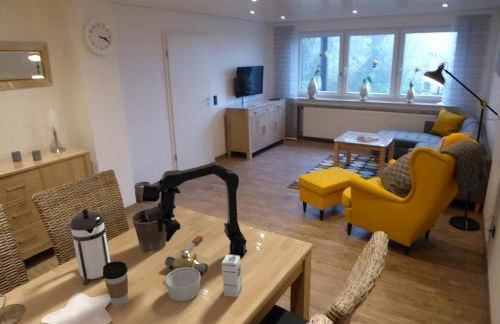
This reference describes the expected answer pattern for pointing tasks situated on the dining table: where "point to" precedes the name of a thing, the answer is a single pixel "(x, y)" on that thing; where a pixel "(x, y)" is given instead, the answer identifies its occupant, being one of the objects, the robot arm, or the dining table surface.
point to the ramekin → (183, 284)
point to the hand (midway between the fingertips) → (163, 236)
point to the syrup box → (231, 275)
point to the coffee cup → (116, 282)
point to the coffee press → (90, 244)
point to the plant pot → (148, 233)
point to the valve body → (186, 263)
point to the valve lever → (191, 246)
